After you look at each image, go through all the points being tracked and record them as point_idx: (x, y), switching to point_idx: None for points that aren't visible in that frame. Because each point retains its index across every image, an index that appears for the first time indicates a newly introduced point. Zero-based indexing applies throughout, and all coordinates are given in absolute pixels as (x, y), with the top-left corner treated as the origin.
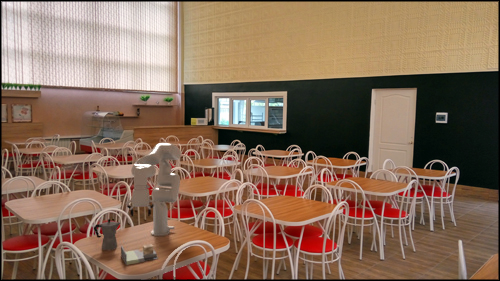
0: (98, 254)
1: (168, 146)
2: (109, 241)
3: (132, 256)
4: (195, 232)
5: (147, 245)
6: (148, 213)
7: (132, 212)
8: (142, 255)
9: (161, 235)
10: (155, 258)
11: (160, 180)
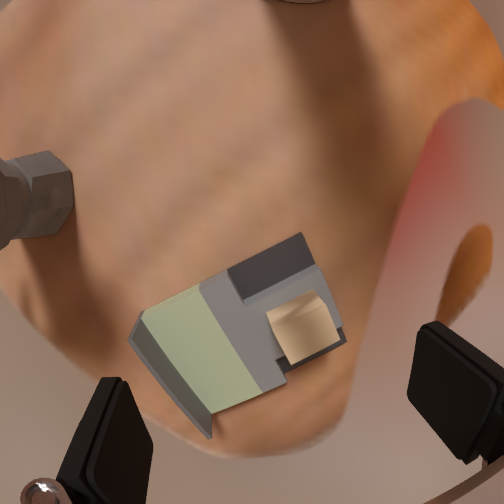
0: (30, 290)
1: None
2: (24, 237)
3: (222, 370)
4: (452, 7)
5: (303, 331)
6: (431, 422)
7: (143, 500)
8: (272, 356)
9: (310, 1)
10: (334, 343)
11: None
